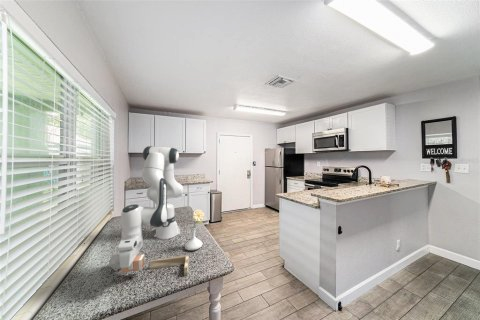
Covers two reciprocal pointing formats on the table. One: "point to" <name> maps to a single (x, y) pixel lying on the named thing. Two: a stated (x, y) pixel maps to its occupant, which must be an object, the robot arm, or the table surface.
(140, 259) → the block
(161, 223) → the robot arm
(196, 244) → the flower in vase
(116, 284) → the table surface
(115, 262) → the die
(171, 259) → the wooden corner bracket
